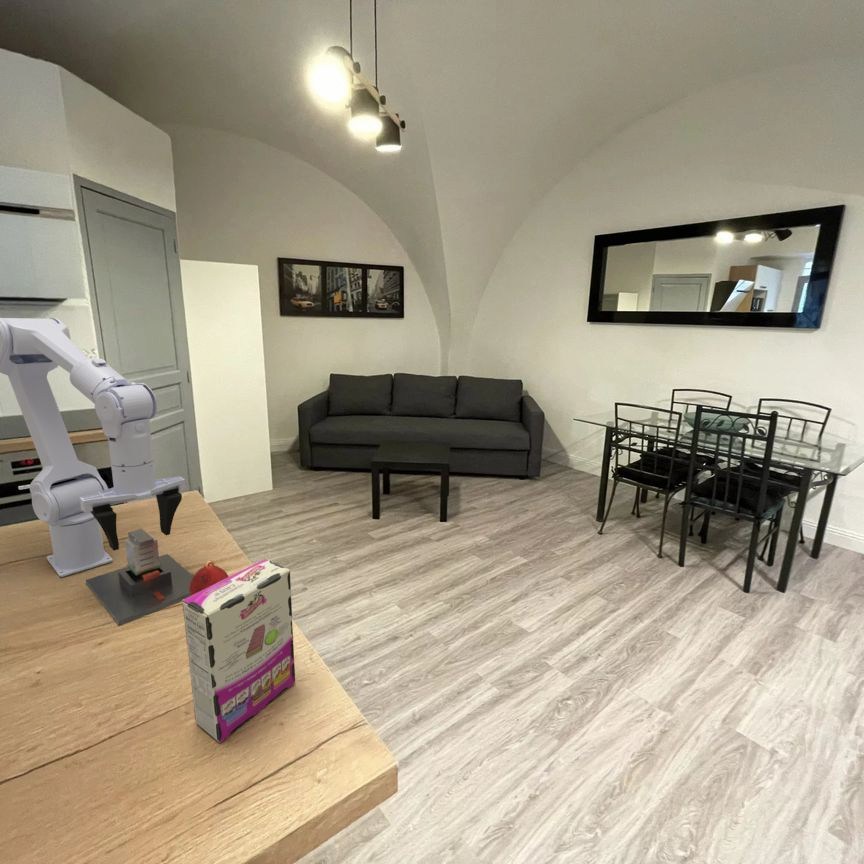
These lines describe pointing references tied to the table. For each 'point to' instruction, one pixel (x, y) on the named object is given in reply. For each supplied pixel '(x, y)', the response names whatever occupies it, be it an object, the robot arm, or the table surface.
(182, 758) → the table surface
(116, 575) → the stand
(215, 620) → the candy bar box
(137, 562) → the grey block
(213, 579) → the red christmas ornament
